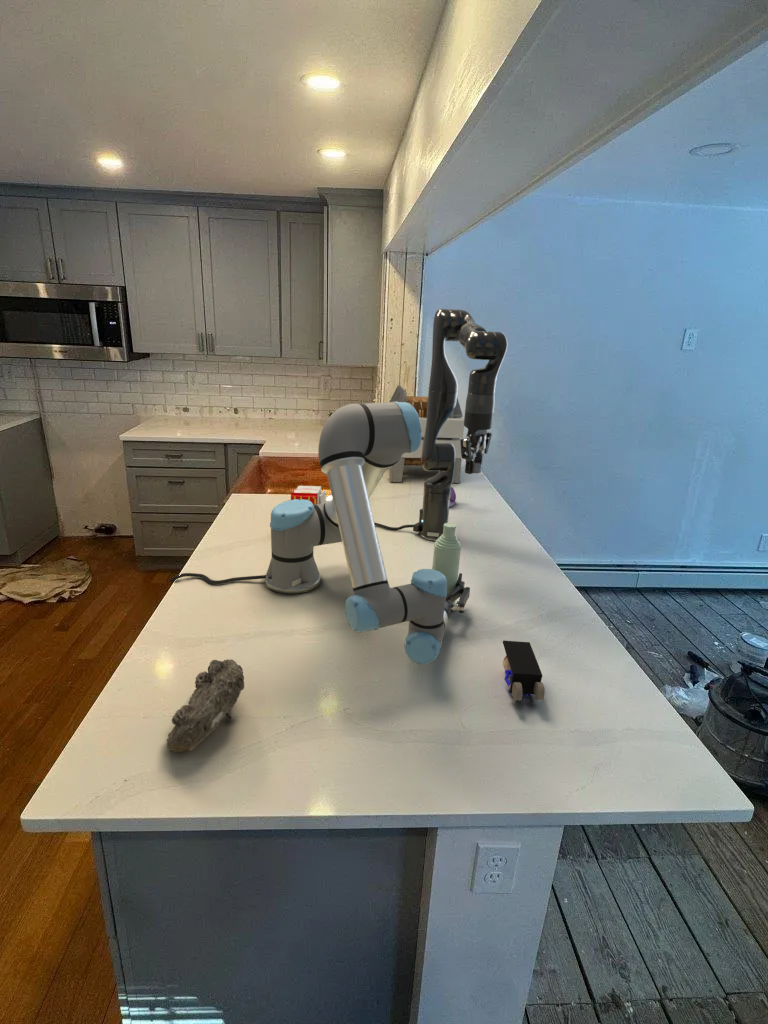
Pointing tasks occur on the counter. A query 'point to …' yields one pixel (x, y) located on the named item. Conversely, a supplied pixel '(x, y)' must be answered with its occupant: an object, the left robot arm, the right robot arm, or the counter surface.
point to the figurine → (452, 497)
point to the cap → (477, 467)
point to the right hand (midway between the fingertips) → (473, 471)
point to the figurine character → (522, 671)
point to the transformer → (447, 433)
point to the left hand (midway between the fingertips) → (446, 575)
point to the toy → (309, 494)
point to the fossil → (206, 705)
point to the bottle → (447, 556)
